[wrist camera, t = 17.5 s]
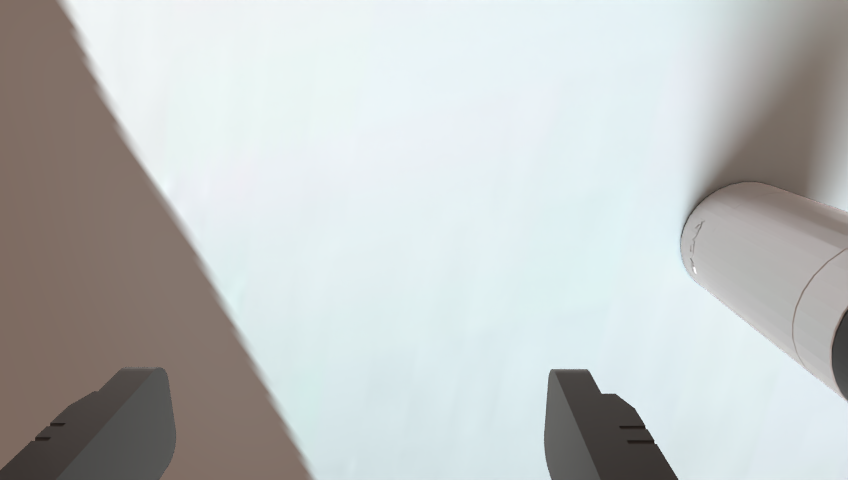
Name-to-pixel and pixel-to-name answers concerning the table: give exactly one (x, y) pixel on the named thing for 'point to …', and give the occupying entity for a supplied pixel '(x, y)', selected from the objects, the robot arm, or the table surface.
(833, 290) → the robot arm
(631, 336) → the table surface
